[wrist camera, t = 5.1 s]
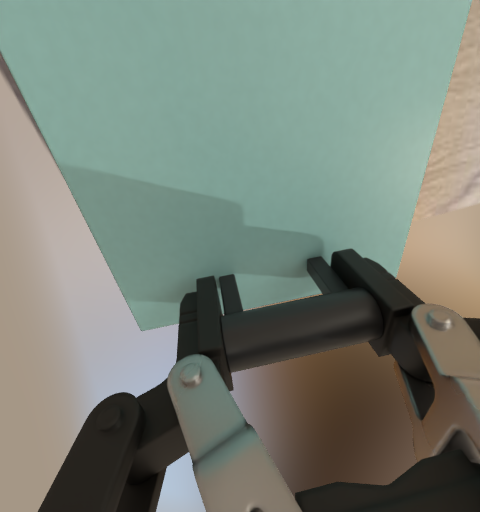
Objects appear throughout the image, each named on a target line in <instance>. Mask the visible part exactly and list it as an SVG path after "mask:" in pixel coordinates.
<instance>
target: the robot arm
mask: <svg viewBox="0 0 480 512" xmlns="http://www.w3.org/2000/svg"><path fill="white" fill-rule="evenodd" d="M330 267H331V268H332V269H333V270H334V272H335V273H336V274H337V275H338V276H339V278H340V279H341V280H342V281H343V282H344V284H345V285H346V286H347V287H348V288H349V289H352V288H357V287H361V288H364V289H366V290H367V291H368V292H369V293H371V295H372V296H373V297H374V299H375V300H376V302H377V304H378V306H379V308H380V311H381V314H382V317H383V324H384V329H383V334H382V336H381V337H380V338H379V339H377V340H373V341H368V342H369V344H370V345H371V346H372V348H373V349H374V351H375V352H376V353H377V355H378V356H379V357H380V356H385V355H389V354H391V355H392V356H393V357H394V358H395V362H394V370H395V373H396V376H397V379H398V382H399V385H400V388H401V391H402V395H403V397H404V400H405V404H406V407H407V409H408V412H409V416H410V419H411V422H412V425H413V446H414V452H415V456H416V460H417V463H416V464H415V465H414V466H412V467H411V468H410V469H409V470H407V471H406V472H405V473H404V474H402V475H401V476H400V477H399V478H397V479H396V480H395V481H393V482H392V483H391V484H389V485H384V486H382V485H370V484H358V483H345V482H335V483H331V484H327V485H324V486H320V487H316V488H312V489H309V490H305V491H301V492H297V493H295V498H294V497H293V495H292V494H291V491H290V490H289V488H288V486H287V485H286V483H285V481H284V479H283V477H282V476H281V474H280V472H279V471H278V469H277V467H276V465H275V464H274V462H273V460H272V458H271V457H270V455H269V453H268V452H267V450H266V448H265V446H264V444H263V443H262V441H261V439H260V438H259V436H258V434H257V433H256V431H255V430H254V428H253V427H252V426H251V425H250V424H248V423H247V422H246V420H245V418H244V417H243V415H242V413H241V411H240V410H239V408H238V406H237V404H236V402H235V401H234V399H233V397H232V395H231V394H230V392H229V391H232V390H233V383H232V376H231V372H230V371H229V368H228V364H227V360H226V355H225V350H224V344H223V339H222V332H221V325H220V317H221V316H223V314H222V308H221V303H220V299H219V295H218V290H217V286H216V281H215V277H214V275H213V276H208V277H203V278H198V279H196V288H197V291H196V292H191V293H186V294H185V296H184V297H183V299H182V301H181V303H180V313H179V314H180V316H179V330H178V347H177V360H176V364H175V365H174V366H173V368H172V369H171V371H170V373H169V375H168V378H167V379H166V380H165V381H163V382H162V383H161V384H160V385H158V386H156V387H155V388H153V389H151V390H150V391H147V392H146V393H144V394H142V395H140V396H138V397H137V398H136V397H135V396H134V395H132V394H130V393H125V392H122V393H117V394H114V395H111V396H109V397H107V398H106V399H104V400H103V401H101V402H100V403H99V404H98V405H97V406H96V407H95V408H94V409H93V411H92V412H91V413H90V414H89V416H88V418H87V419H86V421H85V423H84V425H83V427H82V429H81V431H80V433H79V434H78V436H77V438H76V440H75V442H74V444H73V446H72V448H71V450H70V452H69V453H68V455H67V457H66V459H65V461H64V463H63V465H62V467H61V469H60V471H59V472H58V474H57V476H56V478H55V480H54V482H53V484H52V486H51V488H50V490H49V492H48V493H47V495H46V497H45V499H44V501H43V503H42V505H41V507H40V509H39V510H38V512H156V509H157V505H158V501H159V497H160V492H161V488H162V484H163V480H164V476H165V472H166V468H167V466H169V465H170V464H171V463H173V462H174V461H176V460H177V459H179V458H180V457H182V456H183V455H185V454H186V453H188V452H189V453H190V456H191V459H192V463H193V471H194V475H195V479H196V482H197V485H198V488H199V491H200V494H201V497H202V500H203V503H204V506H205V509H206V512H480V319H477V318H462V317H461V316H460V315H459V314H457V313H456V312H454V311H453V310H451V309H449V308H446V307H444V306H440V305H436V304H425V303H424V302H423V301H422V300H420V298H418V297H417V296H416V295H415V294H414V293H413V292H411V291H410V290H409V289H408V288H407V287H406V286H404V285H403V284H402V283H401V282H400V281H399V280H398V279H395V277H394V276H393V275H392V274H391V273H388V271H387V270H386V269H385V268H384V267H382V266H381V265H380V264H379V263H377V262H375V261H373V260H371V259H369V258H367V257H365V258H362V257H361V256H360V255H359V254H358V253H357V252H356V251H355V250H354V249H351V248H350V249H345V250H340V251H335V252H333V253H332V256H331V266H330Z"/></svg>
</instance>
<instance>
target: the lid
mask: <svg viewBox="0 0 480 512" xmlns="http://www.w3.org/2000/svg"><path fill="white" fill-rule="evenodd" d="M471 2H472V0H0V52H1V54H2V56H3V58H4V60H5V62H6V64H7V66H8V68H9V70H10V72H11V74H12V76H13V78H14V80H15V82H16V84H17V86H18V88H19V90H20V92H21V94H22V96H23V98H24V100H25V102H26V104H27V106H28V108H29V110H30V112H31V114H32V116H33V118H34V120H35V122H36V124H37V126H38V128H39V130H40V132H41V134H42V135H43V137H44V139H45V141H46V143H47V145H48V147H49V149H50V151H51V153H52V155H53V157H54V159H55V161H56V163H57V165H58V167H59V169H60V171H61V173H62V175H63V177H64V179H65V181H66V183H67V185H68V187H69V189H70V191H71V193H72V195H73V197H74V199H75V201H76V203H77V205H78V207H79V209H80V211H81V213H82V215H83V217H84V218H85V220H86V223H87V225H88V227H89V229H90V231H91V233H92V234H93V237H94V239H95V240H96V243H97V245H98V246H99V248H100V250H101V252H102V254H103V256H104V258H105V260H106V262H107V264H108V266H109V268H110V270H111V272H112V274H113V276H114V278H115V280H116V282H117V284H118V286H119V288H120V290H121V292H122V294H123V296H124V298H125V300H126V302H127V304H128V306H129V308H130V310H131V312H132V313H133V316H134V318H135V320H136V322H137V324H138V326H139V328H140V330H141V331H145V330H150V329H155V328H160V327H164V326H169V325H174V324H179V316H180V314H179V313H180V303H181V301H182V299H183V297H184V296H185V294H186V293H191V292H196V291H197V288H196V279H198V278H203V277H208V276H213V275H214V277H215V281H216V286H217V290H218V295H219V299H220V303H221V308H222V314H224V316H221V317H220V325H221V332H222V339H223V344H224V350H225V355H226V360H227V364H228V368H229V371H230V372H231V373H232V372H236V371H241V370H245V369H250V368H254V367H259V366H263V365H267V364H272V363H276V362H281V361H285V360H289V359H294V358H298V357H303V356H307V355H311V354H316V353H320V352H325V351H329V350H333V349H338V348H342V347H346V346H350V345H355V344H360V343H364V342H368V341H373V340H377V339H379V338H380V337H381V336H382V334H383V329H384V324H383V317H382V314H381V311H380V308H379V306H378V304H377V302H376V300H375V299H374V297H373V296H372V295H371V293H369V292H368V291H367V290H366V289H364V288H361V287H357V288H352V289H349V288H348V287H347V286H346V285H345V284H344V282H343V281H342V280H341V279H340V278H339V276H338V275H337V274H336V273H335V272H334V270H333V269H332V268H331V267H330V266H331V256H332V253H333V252H335V251H340V250H345V249H350V248H351V249H354V250H355V251H356V252H357V253H358V254H359V255H360V256H361V257H362V258H365V257H367V258H369V259H371V260H373V261H375V262H377V263H379V264H380V265H381V266H382V267H384V268H385V269H386V270H387V271H388V273H391V274H392V275H393V276H394V277H395V278H396V276H397V272H398V269H399V265H400V262H401V258H402V254H403V251H404V247H405V243H406V240H407V236H408V232H409V229H410V225H411V221H412V218H413V214H414V211H415V207H416V203H417V200H418V196H419V192H420V189H421V185H422V181H423V178H424V174H425V170H426V167H427V163H428V159H429V156H430V152H431V148H432V145H433V141H434V137H435V134H436V130H437V127H438V123H439V119H440V116H441V112H442V108H443V105H444V101H445V97H446V94H447V90H448V86H449V83H450V79H451V75H452V72H453V68H454V64H455V61H456V57H457V54H458V50H459V46H460V43H461V39H462V35H463V32H464V28H465V24H466V21H467V17H468V13H469V10H470V6H471ZM321 293H322V294H323V295H319V296H314V297H309V298H305V299H300V300H295V301H290V302H286V303H281V304H276V305H272V306H267V307H262V308H257V309H252V310H248V311H243V310H245V309H250V308H255V307H259V306H264V305H269V304H274V303H278V302H283V301H288V300H293V299H297V298H302V297H307V296H312V295H316V294H321Z"/></svg>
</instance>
